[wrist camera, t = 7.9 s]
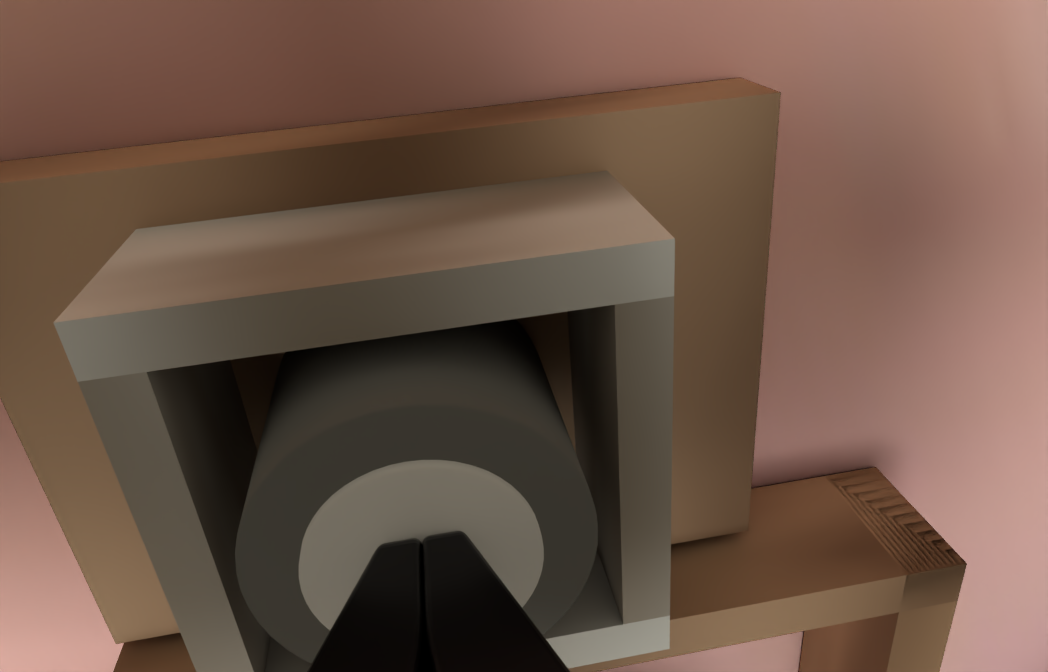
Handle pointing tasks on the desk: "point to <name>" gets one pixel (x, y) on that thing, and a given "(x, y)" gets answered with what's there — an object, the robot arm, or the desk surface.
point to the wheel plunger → (411, 474)
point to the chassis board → (434, 304)
